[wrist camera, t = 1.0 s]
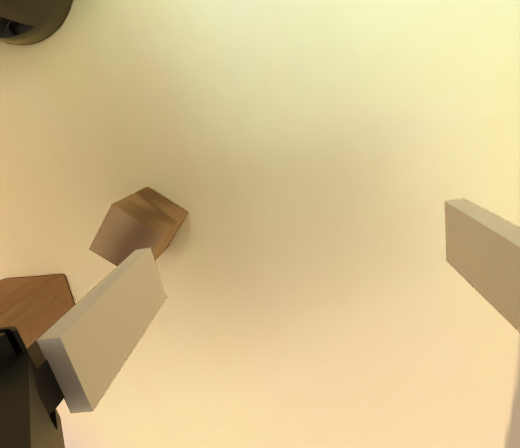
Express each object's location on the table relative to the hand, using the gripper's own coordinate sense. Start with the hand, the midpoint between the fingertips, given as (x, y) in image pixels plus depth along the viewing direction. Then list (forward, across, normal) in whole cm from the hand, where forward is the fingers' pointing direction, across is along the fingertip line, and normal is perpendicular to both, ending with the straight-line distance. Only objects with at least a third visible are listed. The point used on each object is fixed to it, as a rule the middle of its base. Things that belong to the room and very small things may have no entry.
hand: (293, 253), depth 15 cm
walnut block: (+27, -18, -4) cm, 33 cm away
